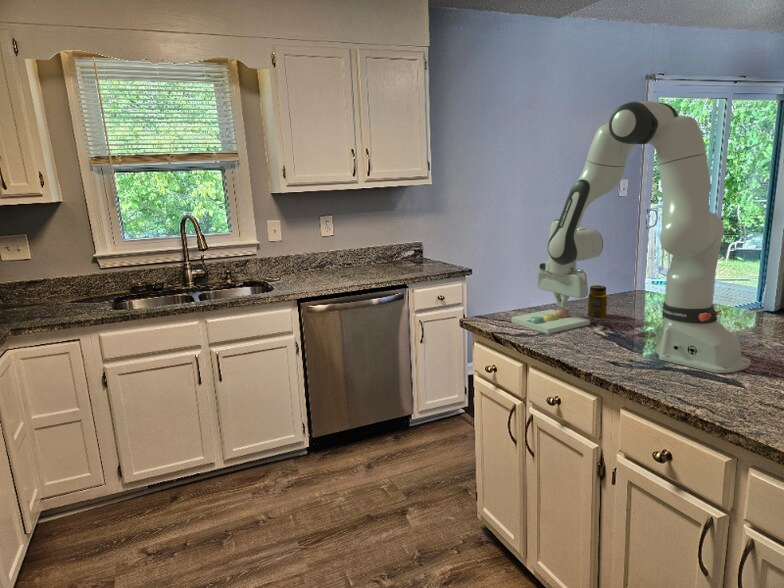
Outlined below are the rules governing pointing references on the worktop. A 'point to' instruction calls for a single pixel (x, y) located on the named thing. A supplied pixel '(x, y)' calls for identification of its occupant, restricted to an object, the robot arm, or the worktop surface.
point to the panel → (550, 322)
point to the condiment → (597, 302)
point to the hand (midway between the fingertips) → (561, 306)
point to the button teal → (537, 320)
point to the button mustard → (549, 317)
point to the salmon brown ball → (562, 313)
